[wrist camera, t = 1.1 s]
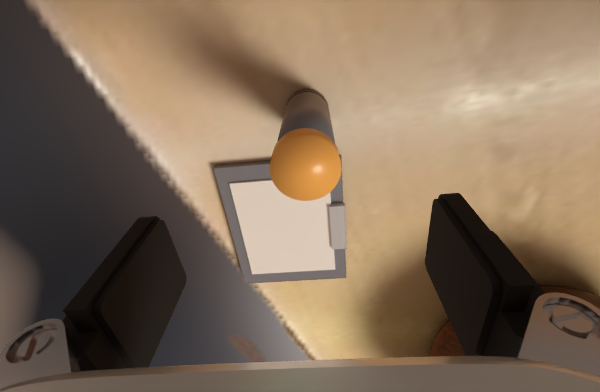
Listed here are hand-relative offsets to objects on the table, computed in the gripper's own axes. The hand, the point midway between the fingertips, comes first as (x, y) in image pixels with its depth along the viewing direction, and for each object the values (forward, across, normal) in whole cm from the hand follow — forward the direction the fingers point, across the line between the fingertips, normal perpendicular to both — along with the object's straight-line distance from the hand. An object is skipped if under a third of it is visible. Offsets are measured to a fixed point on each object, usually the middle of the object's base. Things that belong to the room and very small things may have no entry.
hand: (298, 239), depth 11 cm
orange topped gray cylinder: (+16, 0, 0) cm, 16 cm away
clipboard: (+16, +3, +11) cm, 20 cm away
